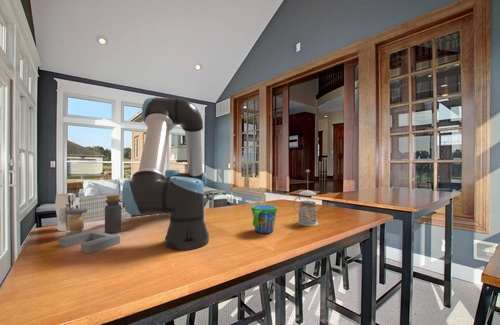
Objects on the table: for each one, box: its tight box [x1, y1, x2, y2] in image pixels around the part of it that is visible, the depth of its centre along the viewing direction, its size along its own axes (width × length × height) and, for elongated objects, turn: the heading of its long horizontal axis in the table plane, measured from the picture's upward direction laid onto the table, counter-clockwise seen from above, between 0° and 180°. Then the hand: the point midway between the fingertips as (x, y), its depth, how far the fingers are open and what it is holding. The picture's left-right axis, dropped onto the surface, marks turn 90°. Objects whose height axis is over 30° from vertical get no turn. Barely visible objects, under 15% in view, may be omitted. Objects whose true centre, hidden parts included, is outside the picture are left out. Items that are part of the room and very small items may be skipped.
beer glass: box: [54, 192, 77, 232], centre depth 99 cm, size 7×7×15 cm
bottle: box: [104, 194, 122, 235], centre depth 96 cm, size 6×6×15 cm
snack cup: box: [250, 204, 278, 234], centre depth 96 cm, size 16×10×10 cm
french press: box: [292, 169, 319, 227], centre depth 109 cm, size 10×12×25 cm
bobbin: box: [64, 207, 88, 237], centre depth 91 cm, size 7×7×10 cm
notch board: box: [58, 229, 121, 255], centre depth 82 cm, size 17×10×2 cm, turn 65°
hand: (118, 209), depth 98 cm, fingers open, 13 cm apart
